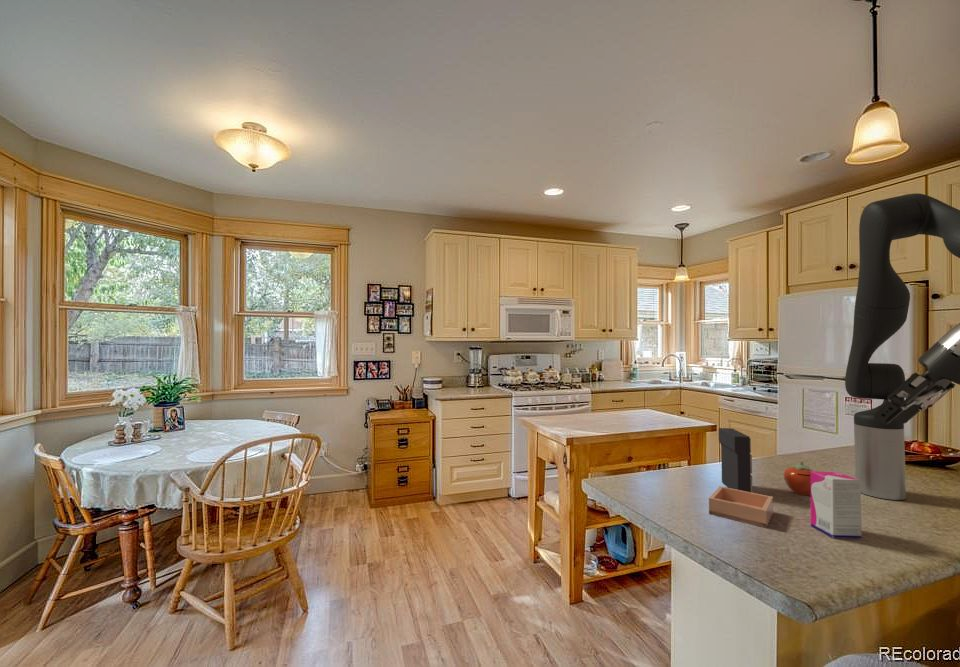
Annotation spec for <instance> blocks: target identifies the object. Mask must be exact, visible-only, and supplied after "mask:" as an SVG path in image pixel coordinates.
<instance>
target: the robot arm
mask: <svg viewBox="0 0 960 667" xmlns="http://www.w3.org/2000/svg"><path fill="white" fill-rule="evenodd" d="M858 226H859V227H858V232H859V233H858V239H859V242H858V243H859V247H858V248H859V252H858V253H859V262H858V263H859V265H858V267H859V270H858V278H857V279H858V280H857V281H858V282H857V287H856V288H857V290H856V295H855V302H854V313H853V329H852V330H853V331H852V339H851V346H850V349H849V350H850V351H849V356H848V360H847V365H846V371H845V379H844V385H845V391H846V393H847V394H848V395H849V396H850V397H852V398H857V399H867V400H869V399H870V400H882V403H880V404H879V405H878V406H876V407H873V408H871V409H867V410H861V411H857V412H855V413H854V415H853V436H854V439H853V440H854V441H853V442H854V473H855V474H854V475H855V476H854V478H855V479H858V480H860V481H861V494H864V495H866V496H871V497H875V498H879V499H884V500H885V499H886V500H892V501H902V500H903V501H904V500H906V499H907V490H906V489H907V488H906V487H907V486H906V482H907V481H906V452H905V451H906V449H905V445H906V444H905V424H907V423H908V422H909V421H910V420H911V419H912V418H914V417H915V416H916V415H917V414H918V413H919V412H921V411H922V412H923V411H924V410H927V409H929V408H932V407H933V406H934V405H935V404H936V403H937V402H938V401H940V399H942V398H943V397H944V396H945V395H946V394H947V393H948V392H950V391H951V390H952V389H954V388H955V386H956V384H957V385H959V386H960V322H959V323H958V324H956V325H955V326H952V328H950V329H949V330H948V331H947V332H946V333H945V334H944V335H942V336H941V338H939V340H937V341H936V342H935V343H934V344H933V345H932V346H931V347H930V348H928V349H927V350H926V351H925V352H924V353H923V354H922V355H921V356H920V357H919V358H918V361H917V362H918V363H919V364H920V365H921V366H922V367H925V368H926V369H927V370H926V371H924V372H923V373H922V374H920V373H917V372H915V373H911V375H910V376H909V377H908V378H907V379H906V375H905V372H904V369H903V368H902V367H901V366H900V365H899V364H897V363H884V362H883V363H881V362H879V363H877V362H876V363H875V362H873V363H872V362H870V361H871V358H872V356H873V354H874V353H876V351H877V350H878V348H879V347H881V346H882V345H883V344H885V342H886V341H887V340H889V339H890V338H891V337H892V336H894V335H895V334H896V333H898V331H899V330H900V329H901V328H902V327H903V326H904V324H905V323H906V321H907V320H908V314H909V308H910V302H911V301H910V300H911V293H910V290H909V289H908V288H909V287H908V286H907V285H906V283H905V281H903V279H902V278H901V276H900V275H899V274H898V273H897V272H896V271H895V270H894V267H893V266H892V263H891V256H890V255H891V252H890V251H891V245H892V241H894V240H895V241H896V240H901V239H907V238H911V237H915V236H918V235H923V236H924V235H925V236H933V237H937V238H940V239H942V241H943V244H944V246H945V248H946V249H947V250H948V252H950V254H951V255H953V256H955V257H957V258H958V259H960V209H958V208H957V207H954V206H951V205H950V204H947V203H945V202H943V201H941V200H939V199H937V198H935V197H933V196H931V195H927V194H924V193H918V192H917V193H909V194H902V195H898V196H894V197H893V196H892V197H889V198H884V199H880V200H879V199H878V200H876V201H872V202H870V203H869V204H867V205H866V206H865V207H864V209H863V210H862V212H861V214H860V218H859V225H858Z"/></svg>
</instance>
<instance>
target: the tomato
mask: <svg viewBox="0 0 960 667" xmlns="http://www.w3.org/2000/svg"><path fill="white" fill-rule="evenodd" d="M811 471H814V470H813V469H811V468H810V467H809V466H808V465H806V464H804V462H803V461H802V460H799V461H798V463H797V464H792V465H791V466H789V467H787V468H785V470H784V471H783V474H782V475H783V476H782V477H783V479H784V482H785V484H786V485H787V487H788V488H789V489H790V490H791V491H792V492H793V493H795V494H798V495H803V496H811Z"/></svg>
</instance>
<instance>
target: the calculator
mask: <svg viewBox="0 0 960 667" xmlns="http://www.w3.org/2000/svg"><path fill="white" fill-rule="evenodd" d="M718 442H719V443H720V446H721V448H720V449H721V450H720V453H721V457H720V458H721V483H722V484H723V485H725V486H726V487H727V488H732V489H737V490H741V491H746V492H751V493H753V475H752V474H753V456H752V454H751V453H752V440H751V437H750V435H749V436H748V435H747V434H745V433H743V432H740V431H739V430H736V429H735V428H728V427H719V428H718Z"/></svg>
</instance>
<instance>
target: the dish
mask: <svg viewBox="0 0 960 667" xmlns="http://www.w3.org/2000/svg"><path fill="white" fill-rule="evenodd" d="M708 514H709V515H712V516H716V517H720V518H725V519H729V520H733V521H737V522H740V523H744V524H749V525H753V526H756V527H760V528H765V529H767V528H768V525H769V523H770V521H771V518H772V516H773V515H774V496H772V495H771V496H769V495H765V494H760V493H756V492H752V493H751V492H746V491H741V490H737V489H732V488H728V487H727V486H726V487H725V486H723V485H722V486H721V485H720V486H718V487H717V488H716V489H715V490H714V492H712V494H711V495H710V496H709V497H708Z"/></svg>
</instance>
